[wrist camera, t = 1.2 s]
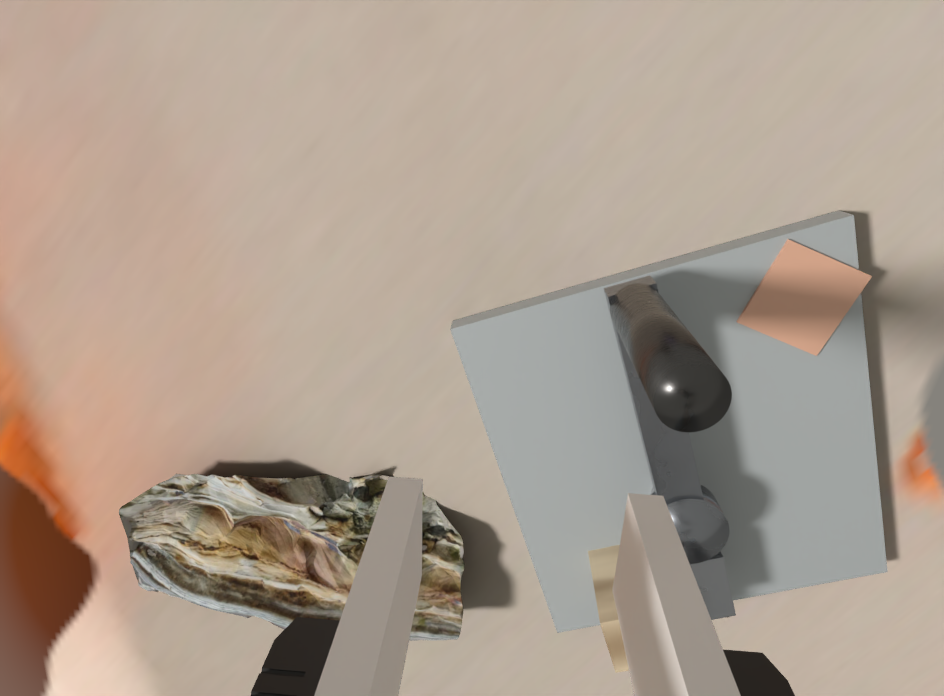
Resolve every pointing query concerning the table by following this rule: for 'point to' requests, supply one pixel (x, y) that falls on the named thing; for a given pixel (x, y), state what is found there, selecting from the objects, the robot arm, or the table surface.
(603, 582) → the beech block
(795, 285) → the plate
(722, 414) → the lever
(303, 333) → the table surface
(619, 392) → the board
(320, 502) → the rock
